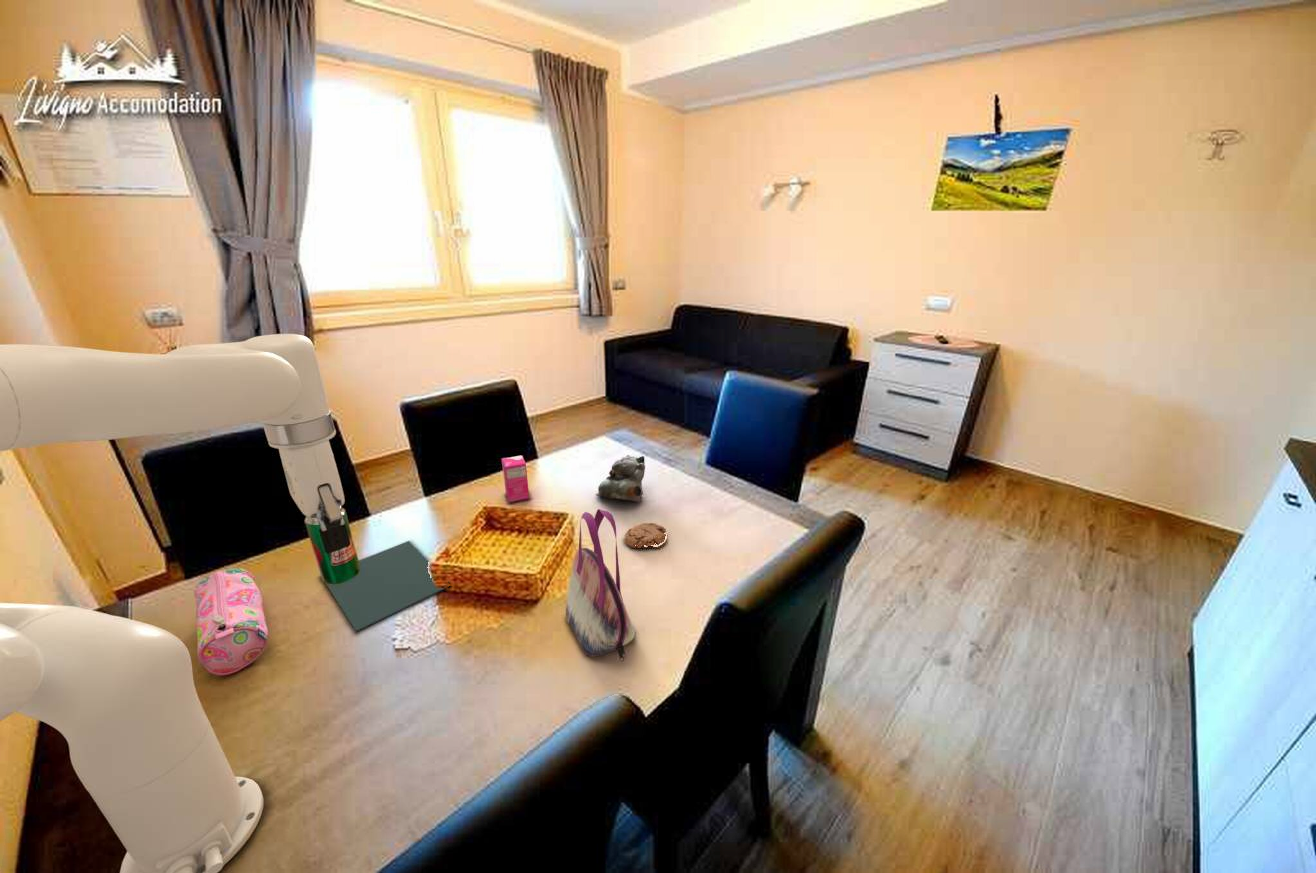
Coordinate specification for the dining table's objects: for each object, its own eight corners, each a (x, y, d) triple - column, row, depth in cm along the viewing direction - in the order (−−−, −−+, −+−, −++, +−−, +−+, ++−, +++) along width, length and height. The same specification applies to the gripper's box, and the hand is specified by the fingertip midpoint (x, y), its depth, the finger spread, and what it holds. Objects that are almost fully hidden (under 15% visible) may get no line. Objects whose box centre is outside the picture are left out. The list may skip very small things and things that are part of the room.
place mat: (452, 586, 100) (451, 584, 100) (356, 632, 88) (356, 630, 88) (408, 542, 114) (408, 540, 114) (321, 577, 102) (320, 575, 102)
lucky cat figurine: (588, 494, 138) (598, 446, 139) (623, 500, 145) (633, 455, 146) (613, 502, 126) (624, 450, 127) (650, 508, 132) (661, 459, 134)
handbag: (650, 658, 85) (654, 539, 75) (598, 681, 80) (595, 557, 70) (601, 586, 102) (600, 482, 92) (556, 601, 97) (549, 493, 88)
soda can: (343, 589, 72) (323, 521, 67) (314, 584, 73) (293, 516, 68) (368, 568, 76) (352, 503, 72) (341, 563, 77) (323, 498, 72)
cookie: (617, 537, 119) (617, 527, 118) (651, 524, 125) (651, 514, 124) (640, 557, 111) (640, 546, 110) (675, 542, 117) (676, 532, 116)
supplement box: (505, 494, 137) (501, 458, 132) (526, 490, 139) (523, 454, 135) (508, 504, 132) (504, 466, 127) (530, 500, 134) (527, 463, 130)
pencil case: (275, 659, 82) (260, 618, 79) (204, 689, 76) (185, 646, 73) (263, 593, 97) (250, 556, 93) (203, 614, 91) (187, 575, 88)
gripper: (253, 418, 68) (288, 527, 75) (281, 456, 57) (319, 579, 64) (315, 406, 73) (342, 509, 80) (352, 439, 62) (379, 555, 69)
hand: (332, 539), depth 72 cm, fingers closed on soda can, 5 cm apart
